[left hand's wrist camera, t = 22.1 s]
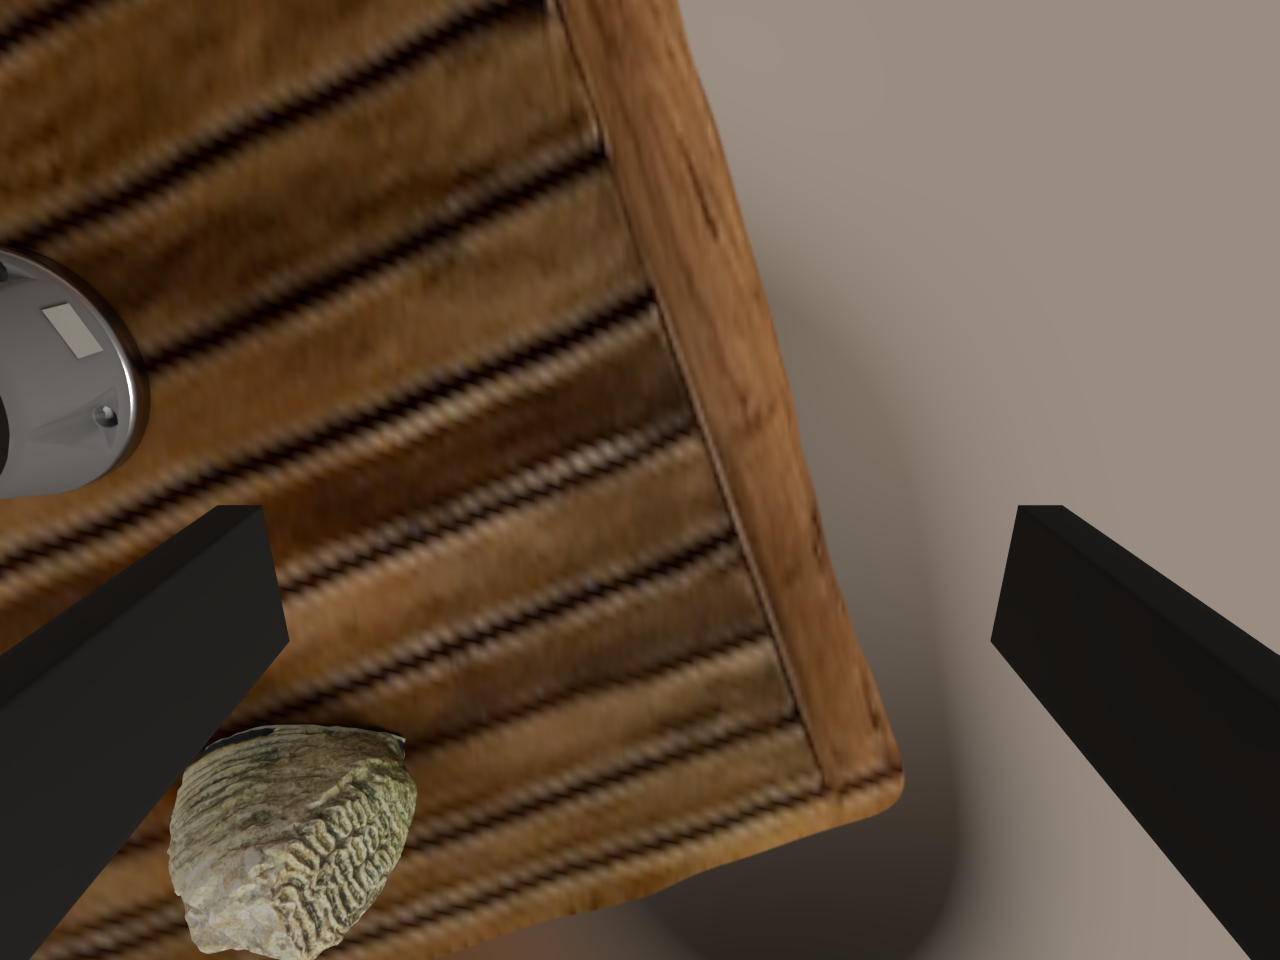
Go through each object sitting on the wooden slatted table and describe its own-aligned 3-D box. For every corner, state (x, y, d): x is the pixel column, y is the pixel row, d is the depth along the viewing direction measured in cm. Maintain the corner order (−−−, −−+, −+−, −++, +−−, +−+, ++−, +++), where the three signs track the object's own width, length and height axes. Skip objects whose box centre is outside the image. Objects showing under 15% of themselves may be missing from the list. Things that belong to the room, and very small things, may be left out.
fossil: (449, 777, 56) (386, 967, 42) (236, 825, 58) (107, 1023, 44) (406, 687, 53) (322, 858, 39) (183, 741, 55) (25, 924, 41)
